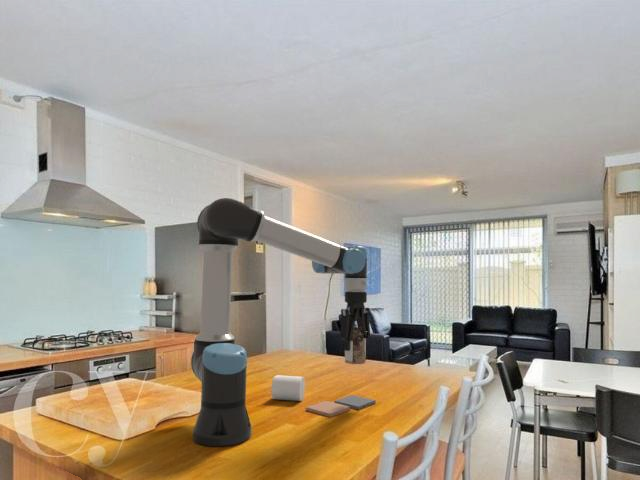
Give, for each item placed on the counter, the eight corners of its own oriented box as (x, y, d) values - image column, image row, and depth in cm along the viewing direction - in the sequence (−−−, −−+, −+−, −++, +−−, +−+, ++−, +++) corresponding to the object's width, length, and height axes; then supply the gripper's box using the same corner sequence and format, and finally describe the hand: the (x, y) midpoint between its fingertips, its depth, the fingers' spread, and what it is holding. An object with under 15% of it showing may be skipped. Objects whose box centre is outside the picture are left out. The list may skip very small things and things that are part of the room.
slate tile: (358, 409, 143) (358, 406, 143) (334, 403, 149) (334, 400, 149) (375, 403, 150) (375, 400, 150) (351, 397, 157) (351, 394, 157)
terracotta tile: (330, 417, 135) (330, 413, 135) (305, 410, 141) (306, 407, 141) (349, 409, 142) (349, 406, 143) (325, 403, 149) (325, 400, 149)
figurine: (341, 361, 153) (341, 325, 154) (359, 359, 156) (359, 325, 157) (350, 364, 146) (350, 328, 147) (369, 363, 149) (369, 327, 150)
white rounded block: (299, 403, 149) (299, 379, 149) (270, 401, 151) (271, 377, 151) (307, 394, 161) (307, 372, 161) (281, 392, 163) (281, 370, 163)
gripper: (347, 291, 143) (346, 364, 141) (380, 290, 158) (380, 356, 156) (329, 291, 148) (328, 361, 146) (363, 290, 163) (363, 353, 161)
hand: (355, 358), depth 151 cm, fingers closed on figurine, 7 cm apart
